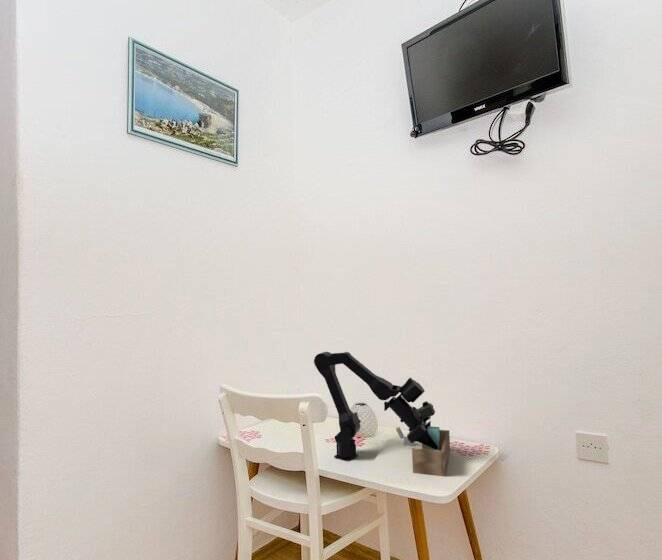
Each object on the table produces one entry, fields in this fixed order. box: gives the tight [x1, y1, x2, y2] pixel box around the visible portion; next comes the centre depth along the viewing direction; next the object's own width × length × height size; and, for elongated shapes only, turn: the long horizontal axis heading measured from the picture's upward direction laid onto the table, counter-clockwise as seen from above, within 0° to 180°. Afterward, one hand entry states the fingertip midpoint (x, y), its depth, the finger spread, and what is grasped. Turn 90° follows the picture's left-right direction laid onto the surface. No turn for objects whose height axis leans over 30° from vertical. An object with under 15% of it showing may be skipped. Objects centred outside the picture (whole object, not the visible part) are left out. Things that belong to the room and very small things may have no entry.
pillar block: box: [427, 425, 441, 451], centre depth 144 cm, size 4×4×11 cm
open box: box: [411, 429, 451, 478], centre depth 144 cm, size 10×23×9 cm, turn 160°
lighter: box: [395, 426, 416, 447], centre depth 162 cm, size 7×2×8 cm, turn 78°
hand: (437, 446), depth 144 cm, fingers closed on pillar block, 4 cm apart
